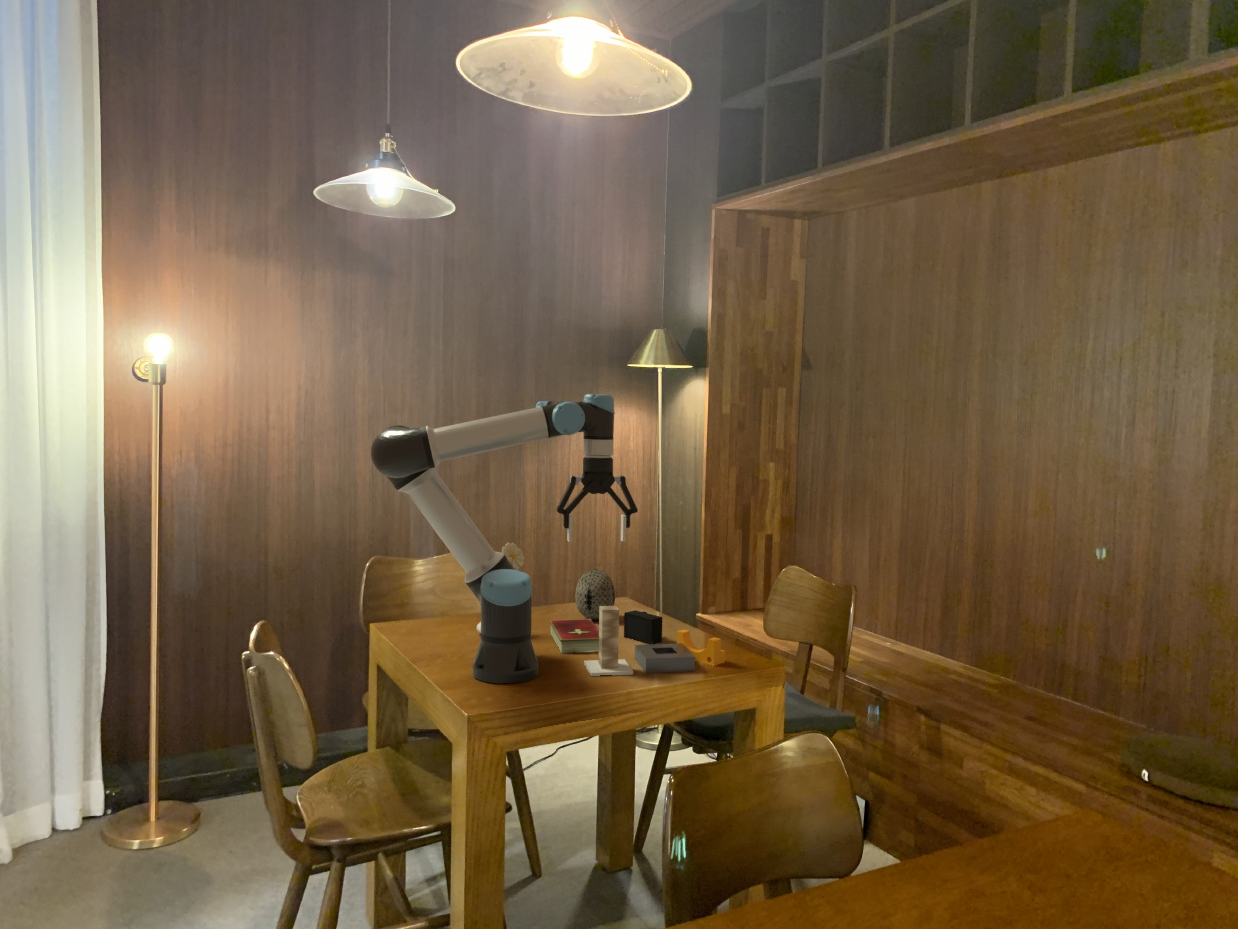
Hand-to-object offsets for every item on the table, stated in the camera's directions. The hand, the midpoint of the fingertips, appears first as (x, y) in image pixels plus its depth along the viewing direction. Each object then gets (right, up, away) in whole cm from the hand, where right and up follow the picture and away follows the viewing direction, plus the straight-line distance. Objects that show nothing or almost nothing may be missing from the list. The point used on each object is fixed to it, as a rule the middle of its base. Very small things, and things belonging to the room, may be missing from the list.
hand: (596, 541), depth 224 cm
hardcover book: (-6, -28, +13) cm, 32 cm away
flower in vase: (-27, -27, +20) cm, 43 cm away
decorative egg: (-2, -26, +38) cm, 46 cm away
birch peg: (+3, -29, -11) cm, 31 cm away
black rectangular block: (+12, -28, +17) cm, 35 cm away
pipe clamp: (+26, -30, 0) cm, 39 cm away
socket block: (+17, -30, -6) cm, 34 cm away
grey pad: (+3, -30, -11) cm, 32 cm away
